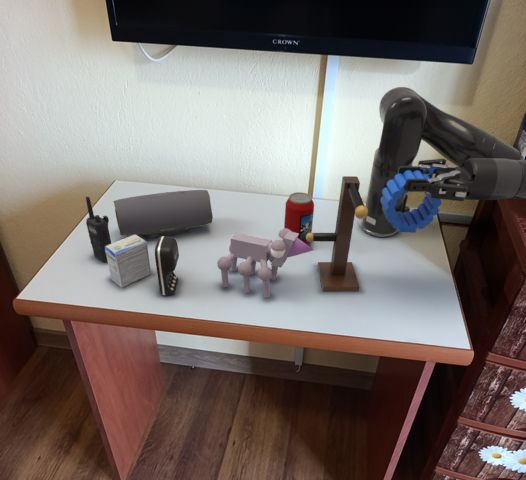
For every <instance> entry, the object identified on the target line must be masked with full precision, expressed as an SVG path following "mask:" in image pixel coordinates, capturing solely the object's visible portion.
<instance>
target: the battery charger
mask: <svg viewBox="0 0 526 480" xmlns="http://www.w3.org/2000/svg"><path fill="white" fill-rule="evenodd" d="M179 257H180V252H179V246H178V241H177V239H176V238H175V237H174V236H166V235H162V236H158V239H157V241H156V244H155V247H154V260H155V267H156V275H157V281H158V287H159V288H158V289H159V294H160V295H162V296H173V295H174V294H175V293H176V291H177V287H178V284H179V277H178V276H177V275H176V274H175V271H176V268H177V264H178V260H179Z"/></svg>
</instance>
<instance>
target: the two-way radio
mask: <svg viewBox="0 0 526 480" xmlns="http://www.w3.org/2000/svg"><path fill="white" fill-rule="evenodd" d="M85 201H86V207H87V213H88V217H87V218H86V221H85V222H86V228H87V232H88V236H89V240H90V245H91V248H92V252H93V256H94V257H95V258H96V259H98V260H99V261H101V262H103V263H108V261H107V256H106V252H105V246H107V245H110V244H112V239H111V235H110V234H111V233H110V230H109V221H110V220H109V216H107V215H103V216H102V217H101V216H100V215H99V214H96V215H95V214H94V210H93V206H92V202H91V199H90V196H85Z"/></svg>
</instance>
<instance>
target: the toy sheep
mask: <svg viewBox="0 0 526 480" xmlns="http://www.w3.org/2000/svg"><path fill="white" fill-rule="evenodd" d="M298 235H299V233H295V232H291V230H289V229H284V228H283V229H280V231H279V232H278V238H277V239H275V240H274V241H272V239H268V238H264V237H259V236H254V235H249V234H244V233H240V232H235V233H234V235H232V236H231V238H230V244H229V247H228V250H229V255H227V256H221V257H219V258H218V260H217V267H218V269H219V270H220V275H221V283H222V287H223V288H228V287H229V285H230V284H229V274H228V271H231V272H238V274H239V275H240V276H242V280H243V293H245V294H248V293H250V292H251V280H250V279H251V278H250V276H255V274H256V267H257V263H260V268H259V270H258V271H257V276H258V278H259V279H260V281H262V288H263V297H264V298H270V297H271V287H270V284H271V283H270V281H276V280H277V276H278V273H279V271H278V270H279V268H280V269H281V268H282V267H283V266H284V264H285V263H286V261H287V259H288V258H291V257H295V256H299V255H301V254H306V253H309V252H312V251H314V248H312V247H311V246H309V244H308V245H306V244H305V243H304V242H302V241H301V240H300V239H298V238H297V237H298ZM238 259H242V260H245V261H242V262H241V263H239V264H238ZM268 261H269V262H270V266H271V267H269V266H268ZM237 265H238V267H237Z"/></svg>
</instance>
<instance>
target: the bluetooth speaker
mask: <svg viewBox="0 0 526 480" xmlns="http://www.w3.org/2000/svg"><path fill="white" fill-rule="evenodd" d="M113 205H114V212H115V218H116V224H117V228H118V231H119V236H132V235H134V234H135V235H137V236H138V235H145V236H146V237H161V236H168V235H174V234H176V235H177V234H180V233H184V232H187V230H188V229H192V228H196V227H202V226H205V225H209V224H212V223H213V219H214V218H213V217H214V216H213V211H212V204H211V196H210V194H209V191H208V190H207V189H191V190H189V189H188V190H178V191H177V190H176V191H167V192H158V193H150V194H143V195H135V196H131V197H124V198H120V199H115V200H113Z"/></svg>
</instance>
